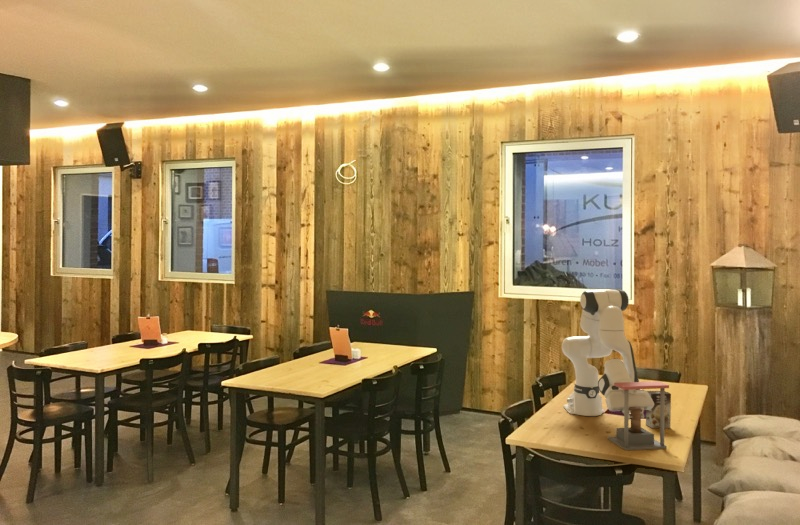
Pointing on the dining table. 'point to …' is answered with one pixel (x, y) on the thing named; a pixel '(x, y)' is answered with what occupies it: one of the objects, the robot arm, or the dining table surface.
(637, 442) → the socket stand
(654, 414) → the coffee box
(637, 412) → the walnut peg
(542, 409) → the dining table surface
